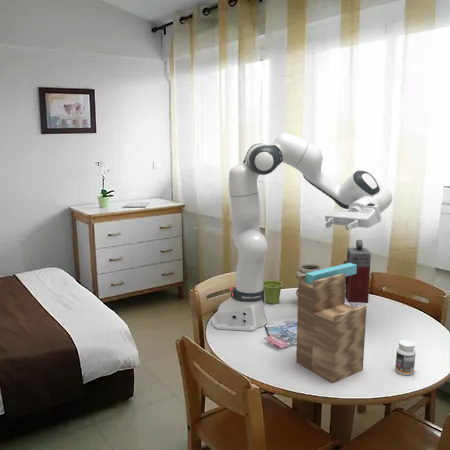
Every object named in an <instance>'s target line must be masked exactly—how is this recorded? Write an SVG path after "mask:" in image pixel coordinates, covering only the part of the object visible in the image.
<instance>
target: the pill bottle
mask: <svg viewBox="0 0 450 450" xmlns="http://www.w3.org/2000/svg"><path fill="white" fill-rule="evenodd" d="M415 346H416V344H415V342H413V341H412V340H407V339H402V340H399V342H398V347H397V348H396V355H395V356H396V357H395V371H396V372H397V373H398V374H400V375H403V376H404V375H405V376H410V375H413V374H414V371H415V364H416V363H415V362H416V350H415V348H416V347H415Z"/></svg>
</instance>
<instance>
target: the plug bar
mask: <svg viewBox="0 0 450 450" xmlns="http://www.w3.org/2000/svg"><path fill="white" fill-rule="evenodd" d="M342 273H344V274H346V276H350V275H354V274H356V273H357V265H356V264H352V263H347V264H343V263H342V264H337V265H336V266H331V267H326V268H322V269H320V270H318V271H313V272H309V273H306V283H308V284H310V285H313V281H315V280H319V279H323V278H327V277H331V276H335V275H338V274H342Z"/></svg>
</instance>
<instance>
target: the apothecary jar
mask: <svg viewBox="0 0 450 450" xmlns="http://www.w3.org/2000/svg"><path fill="white" fill-rule="evenodd" d="M318 270H321V267H320V265H318V264H314V263H313V264H312V263H309V264H307V263H306V264H302V265H300V268H299V270H298V271H297V272H296V278H297V279H299V276H300V275H304V274H306V273H309V272H313V271H318ZM295 295H296V297H297V298H298V288H297V289H296V291H295Z"/></svg>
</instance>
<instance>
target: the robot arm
mask: <svg viewBox="0 0 450 450" xmlns="http://www.w3.org/2000/svg"><path fill="white" fill-rule="evenodd" d="M323 160H324V159H323V153H322V150H321V149H320V148H319V147H318V146H317V145H315V144H314V143H312V142H310V141H308V140H306V139H305V138H302V137H299V136H297V135H294V134H291V133H288V132H287V133H286V132H283V133H281V134H279V135H278V136H277V137H276V138H275V139H274V142H273V143H271V144H265V143H262V142H261V143H255V144H253V145H251V146H250V148H249V149H248V150H247V152H246V154H245V157H244V160H243V161H242V164H237V165H235V166H232V168H231V169H230V170H229V174H228V191H229V193H228V194H229V199H230V207H231V215H232V216H231V217H232V235H233V243H234V245H235V246H236V248H237V252H238V253H237V254H238V255H237V264H236V268H235V287H234V286H230V287H229V292H230V296H229V298H227V299H226V300H224V301H223V302H222V303H220V304H219V305H218V308H217V312H216V313H215V314H214V315H212V317H211V325H212V327H213V328H214V329H216V330H230V331H243V332H244V331H246V332H254V331H256V330H257V329H260V328H262V327H264V326H266V325H267V323H268V319H267V316H266V313H265V291H264V288H263V283H264V282H265V281H264V275H265V274H264V272H265V263H266V258H267V253H268V250H269V249H268V248H269V245H268V240H267V239H266V237H265V236H264V234H262V231H261V227H260V223H261V222H260V219H261V204H260V196H259V189H258V179H259V176H260V175H261V176H266V175H269V174H271V173H272V172H273V171H275V170H276V169H277V167H279V165H281V164H282V163H284V164H285V165H289V166H290V167H292V168H294V169H296V170H298V171H299V172H300V173H301V174H302V176H303V178H304V180H305V181H306V182H308V183H309V184H310V185H312V186H313V187H314V188H316V189H317V190H319V191H320V192H321V193H323V194H324V195H325V196H327V197H329V198H331V200H332V201H333V202H334V203H336V204H337V205H338V207H340V208H336V209H333V210H331V211H329V212H327V213H326V214H325V216H324V219H325V223H324V227H325V228H332V227H333V225H335V226H336V225H337V226H344V227H345V230H348V231H351V230H352V229H356V228H363V229H364V228H365V229H368V228H372V227H373V226H375V225H377V224H378V223H380V222H382V215H381V213H383V212H384V211H386V210H387V209H388V208H389V207H390V206H391V204H392V202H393V195H392V194H393V193H392V192H391V190H390V189H389V188H388V187H386V186H382V185H381V184H379V183H378V182H377V180H376V178H375V177H374V176H373V174H371V173H370V172H368V171H365V170H356V171H355V172H354V173H353V174H351V175H350V176H349V178H347V180H346V181H344V182H343V183H341V184H338V183H336V182H335V181H333V180H332V179H331V178H329V177H328V176H327V175H325V174H324V173H323V172H322V165H323ZM265 324H266V325H265Z"/></svg>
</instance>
